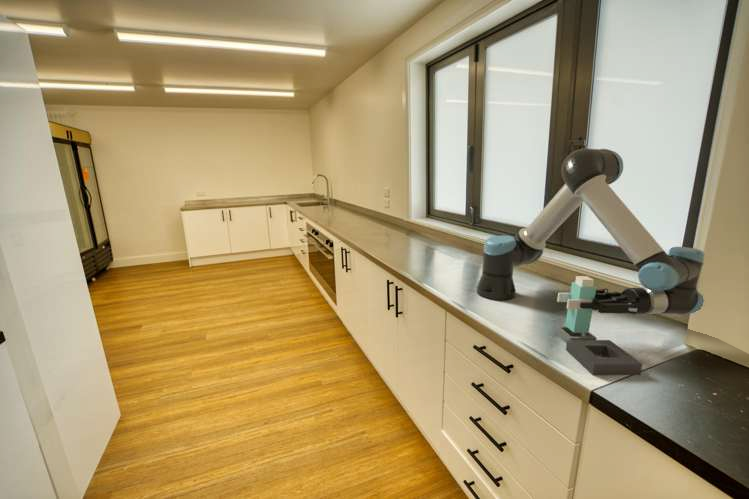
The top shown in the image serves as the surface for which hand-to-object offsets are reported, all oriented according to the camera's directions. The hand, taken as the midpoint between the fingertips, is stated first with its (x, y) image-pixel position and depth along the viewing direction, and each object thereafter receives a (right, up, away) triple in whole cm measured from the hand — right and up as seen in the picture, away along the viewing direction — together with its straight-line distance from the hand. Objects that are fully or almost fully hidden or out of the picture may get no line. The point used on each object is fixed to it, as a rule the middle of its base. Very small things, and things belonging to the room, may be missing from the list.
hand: (563, 300), depth 99 cm
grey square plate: (+5, -12, +3) cm, 14 cm away
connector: (+5, -9, +2) cm, 10 cm away
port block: (+5, -15, -8) cm, 18 cm away
